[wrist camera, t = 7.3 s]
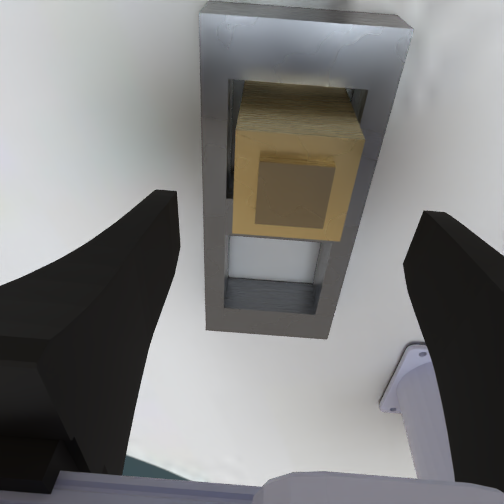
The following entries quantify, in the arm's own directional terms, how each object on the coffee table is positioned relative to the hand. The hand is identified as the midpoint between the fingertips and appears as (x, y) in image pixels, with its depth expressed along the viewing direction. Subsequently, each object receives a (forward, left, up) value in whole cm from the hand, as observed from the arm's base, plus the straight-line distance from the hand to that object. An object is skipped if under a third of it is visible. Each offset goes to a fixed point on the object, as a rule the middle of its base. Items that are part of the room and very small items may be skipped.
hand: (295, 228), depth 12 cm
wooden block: (0, 0, -8) cm, 8 cm away
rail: (0, +3, -8) cm, 8 cm away
